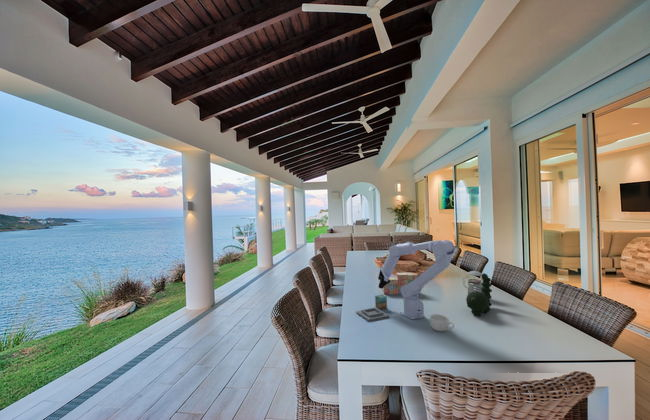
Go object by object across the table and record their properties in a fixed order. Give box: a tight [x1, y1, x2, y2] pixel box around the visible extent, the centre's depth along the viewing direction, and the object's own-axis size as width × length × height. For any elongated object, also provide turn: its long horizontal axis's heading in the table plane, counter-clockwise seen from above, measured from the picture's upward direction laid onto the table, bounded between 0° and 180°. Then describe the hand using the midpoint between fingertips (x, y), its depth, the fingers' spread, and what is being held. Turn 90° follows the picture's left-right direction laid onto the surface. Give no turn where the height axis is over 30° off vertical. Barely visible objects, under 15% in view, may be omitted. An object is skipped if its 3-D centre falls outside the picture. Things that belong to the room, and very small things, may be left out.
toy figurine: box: [465, 273, 493, 317], centre depth 142 cm, size 10×19×26 cm
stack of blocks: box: [382, 272, 419, 295], centre depth 177 cm, size 21×6×12 cm, turn 85°
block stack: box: [374, 294, 388, 311], centre depth 151 cm, size 4×4×6 cm
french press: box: [462, 254, 483, 297], centre depth 165 cm, size 10×12×25 cm
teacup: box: [429, 313, 455, 333], centre depth 122 cm, size 10×8×5 cm
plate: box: [355, 307, 390, 322], centre depth 141 cm, size 12×12×2 cm
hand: (380, 283), depth 155 cm, fingers open, 7 cm apart
